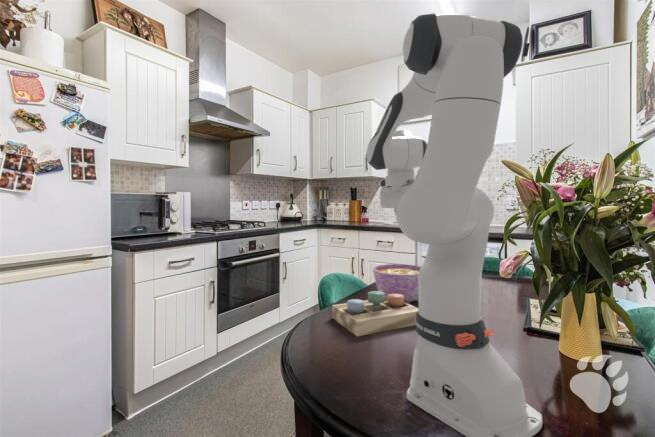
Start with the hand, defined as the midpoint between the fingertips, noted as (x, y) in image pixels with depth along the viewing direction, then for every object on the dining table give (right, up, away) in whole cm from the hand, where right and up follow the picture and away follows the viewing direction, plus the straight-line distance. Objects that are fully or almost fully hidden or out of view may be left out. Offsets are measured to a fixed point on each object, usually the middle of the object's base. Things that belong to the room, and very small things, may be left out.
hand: (401, 221), depth 111 cm
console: (-10, -30, -12) cm, 34 cm away
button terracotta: (-4, -29, -9) cm, 31 cm away
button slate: (-17, -29, -15) cm, 37 cm away
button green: (-10, -27, -12) cm, 32 cm away
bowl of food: (+2, -29, +8) cm, 30 cm away
